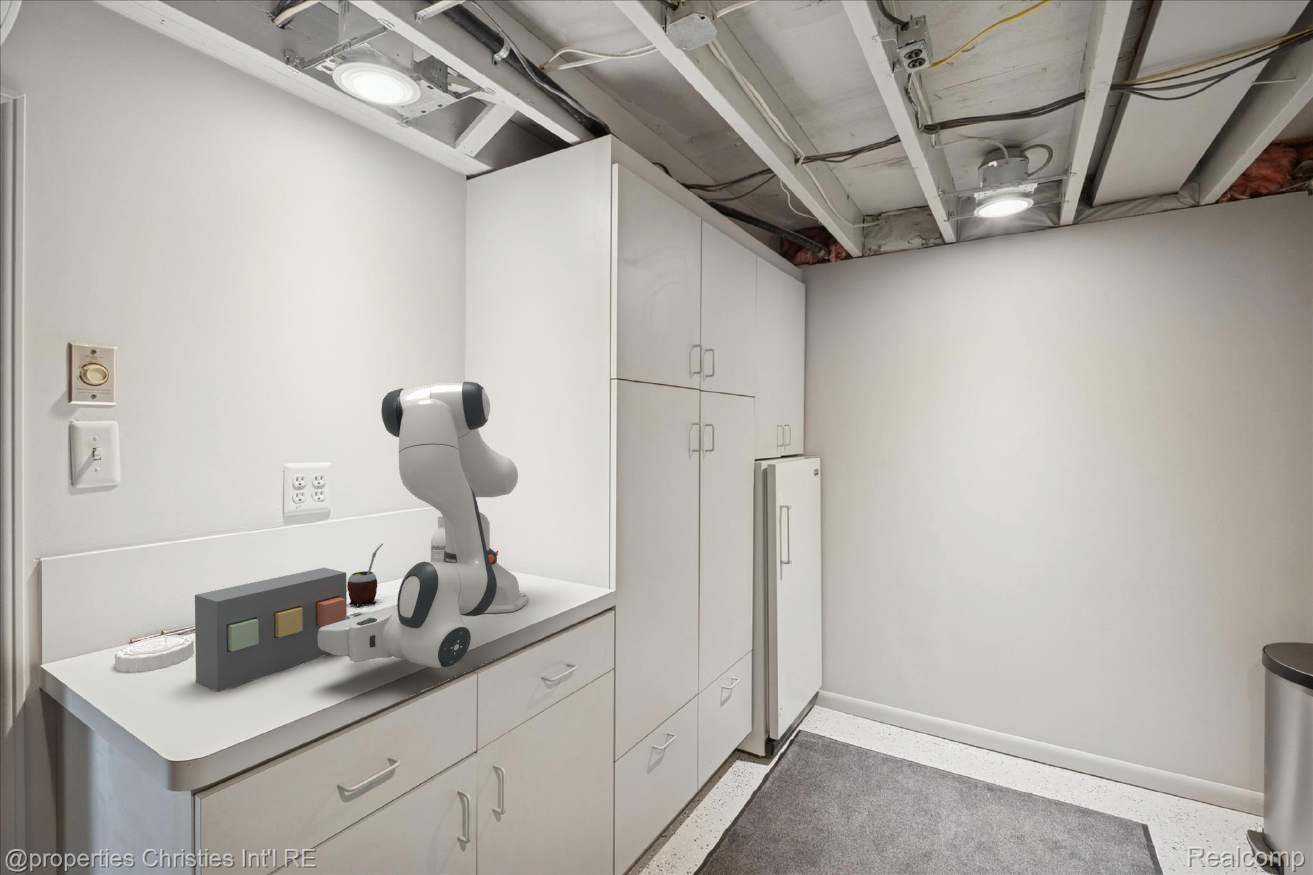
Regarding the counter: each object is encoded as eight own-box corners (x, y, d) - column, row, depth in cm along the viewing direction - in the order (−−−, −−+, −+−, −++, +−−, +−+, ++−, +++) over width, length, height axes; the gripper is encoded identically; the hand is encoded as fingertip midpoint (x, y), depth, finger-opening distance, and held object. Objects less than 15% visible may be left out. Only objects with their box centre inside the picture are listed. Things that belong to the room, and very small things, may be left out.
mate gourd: (343, 608, 153) (342, 550, 152) (354, 599, 161) (354, 543, 160) (373, 607, 154) (373, 549, 153) (383, 598, 162) (383, 543, 161)
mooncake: (117, 659, 120) (117, 641, 120) (193, 645, 128) (192, 628, 128) (112, 679, 111) (112, 660, 111) (194, 663, 118) (194, 645, 118)
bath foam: (457, 583, 177) (456, 516, 176) (432, 586, 174) (431, 517, 173) (453, 578, 183) (453, 512, 183) (429, 580, 180) (429, 514, 180)
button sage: (258, 643, 110) (258, 619, 110) (231, 651, 106) (231, 626, 106) (250, 640, 112) (249, 617, 112) (223, 648, 108) (223, 623, 108)
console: (346, 647, 126) (346, 572, 126) (217, 691, 106) (216, 601, 105) (324, 640, 130) (324, 567, 130) (195, 681, 110) (194, 594, 109)
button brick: (345, 620, 123) (345, 599, 123) (324, 626, 120) (324, 604, 119) (336, 617, 125) (336, 596, 125) (316, 623, 121) (315, 602, 121)
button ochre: (302, 630, 117) (302, 608, 117) (279, 637, 113) (278, 614, 113) (293, 627, 119) (293, 605, 119) (270, 634, 115) (270, 611, 115)
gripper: (442, 599, 121) (397, 589, 128) (345, 629, 103) (300, 616, 110) (442, 630, 121) (397, 618, 128) (346, 666, 103) (300, 650, 110)
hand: (351, 617), depth 119 cm, fingers closed
